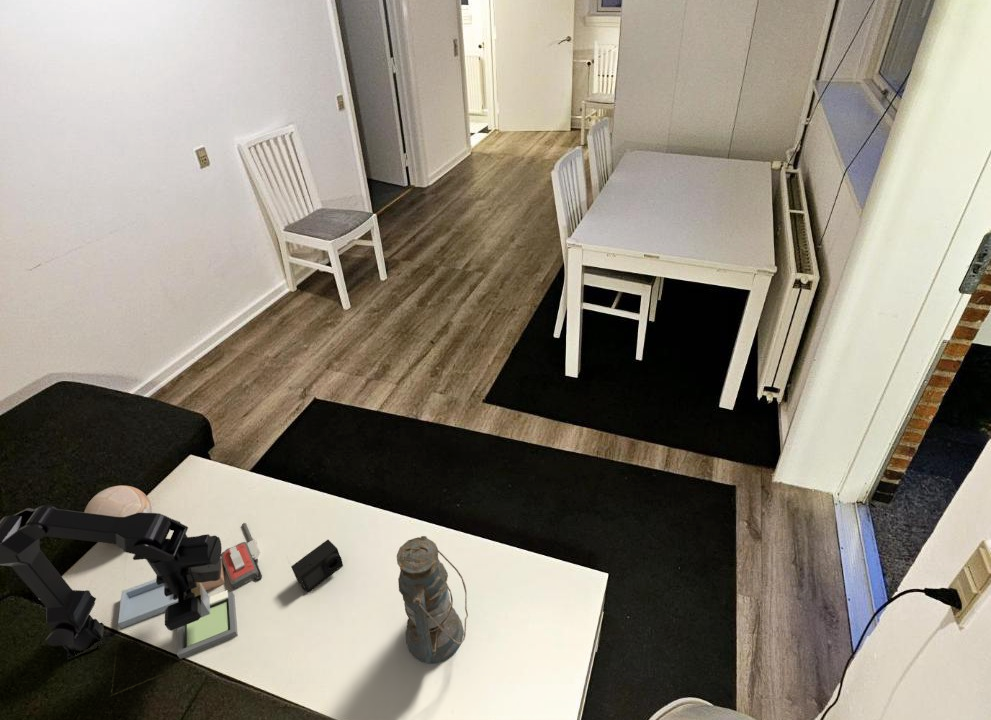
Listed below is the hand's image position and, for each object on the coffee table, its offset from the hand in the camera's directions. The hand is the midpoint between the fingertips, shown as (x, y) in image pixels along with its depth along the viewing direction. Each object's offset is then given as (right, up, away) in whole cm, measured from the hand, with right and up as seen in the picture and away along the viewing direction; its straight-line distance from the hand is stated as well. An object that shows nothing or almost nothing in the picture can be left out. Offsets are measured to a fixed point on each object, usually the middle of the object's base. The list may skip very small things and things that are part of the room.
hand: (197, 607), depth 125 cm
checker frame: (0, -7, +5) cm, 8 cm away
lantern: (+53, -6, 0) cm, 54 cm away
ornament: (-33, +8, +28) cm, 44 cm away
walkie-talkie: (+1, +4, +20) cm, 20 cm away
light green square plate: (0, -6, +4) cm, 7 cm away
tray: (-16, -3, +11) cm, 20 cm away
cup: (-4, 0, +15) cm, 15 cm away
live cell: (0, -1, +1) cm, 1 cm away
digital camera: (+23, +1, +14) cm, 27 cm away
